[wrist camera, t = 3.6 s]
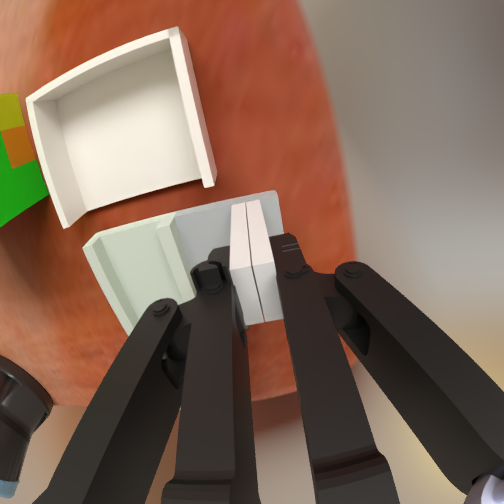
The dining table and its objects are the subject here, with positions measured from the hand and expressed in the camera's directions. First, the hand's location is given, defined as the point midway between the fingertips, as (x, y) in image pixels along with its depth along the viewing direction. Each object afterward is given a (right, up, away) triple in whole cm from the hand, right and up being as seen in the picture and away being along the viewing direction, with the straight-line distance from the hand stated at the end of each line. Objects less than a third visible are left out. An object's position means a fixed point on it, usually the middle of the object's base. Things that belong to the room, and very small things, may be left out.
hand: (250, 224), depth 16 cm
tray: (-9, +7, +1) cm, 11 cm away
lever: (-2, -8, +5) cm, 10 cm away
